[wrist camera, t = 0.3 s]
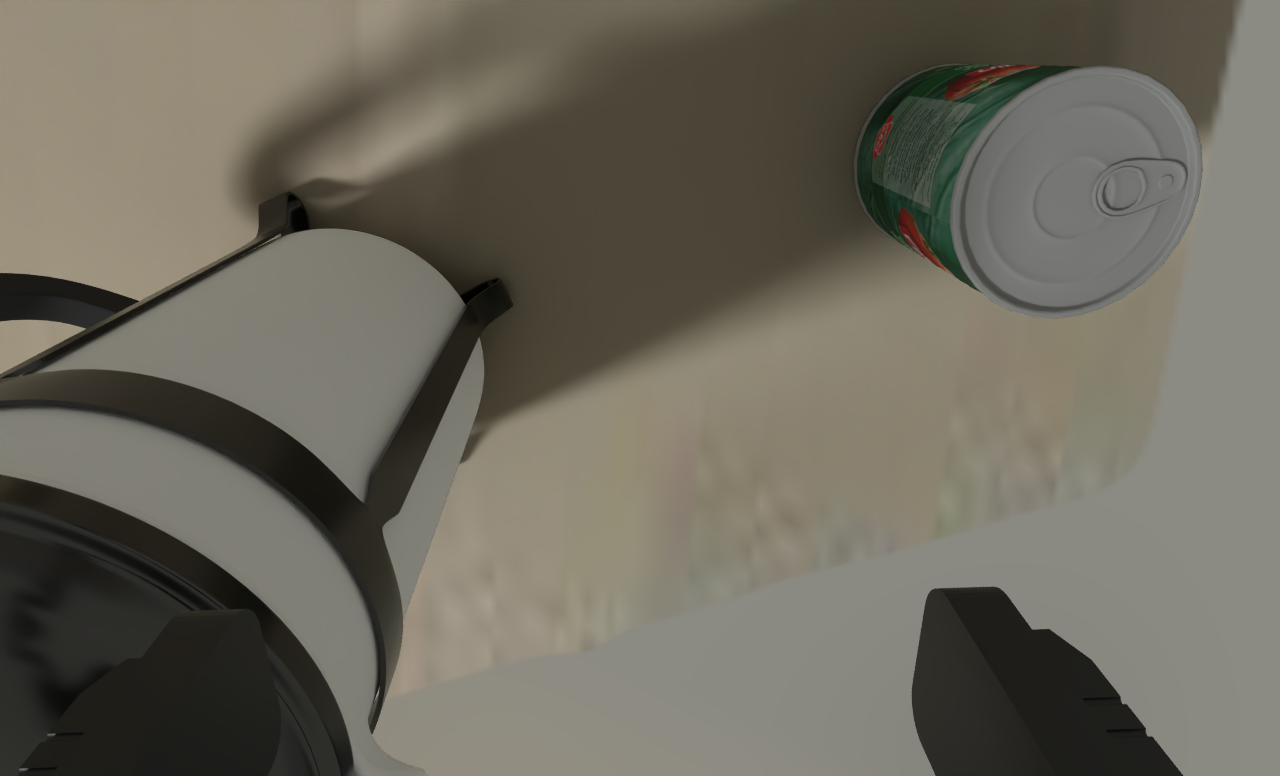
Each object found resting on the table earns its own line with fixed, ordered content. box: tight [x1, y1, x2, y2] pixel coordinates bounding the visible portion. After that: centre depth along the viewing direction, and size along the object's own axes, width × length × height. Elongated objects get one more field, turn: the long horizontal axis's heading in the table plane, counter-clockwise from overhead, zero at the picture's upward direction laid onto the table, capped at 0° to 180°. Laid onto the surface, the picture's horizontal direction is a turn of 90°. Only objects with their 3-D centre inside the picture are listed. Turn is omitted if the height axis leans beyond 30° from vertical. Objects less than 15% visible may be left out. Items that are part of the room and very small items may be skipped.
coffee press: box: [0, 192, 513, 776], centre depth 24 cm, size 17×16×30 cm
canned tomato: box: [853, 63, 1203, 319], centre depth 30 cm, size 8×8×11 cm
